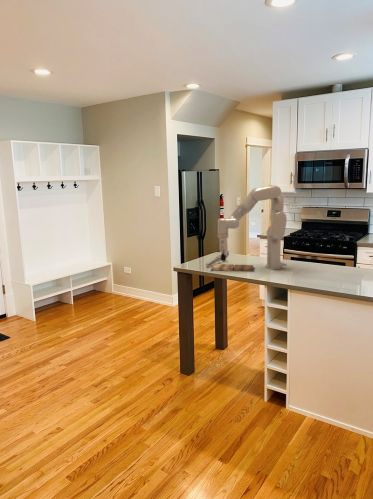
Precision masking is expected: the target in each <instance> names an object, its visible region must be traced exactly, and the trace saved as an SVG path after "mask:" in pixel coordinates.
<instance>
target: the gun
mask: <svg viewBox="0 0 373 499" xmlns="http://www.w3.org/2000/svg"><path fill="white" fill-rule="evenodd" d="M229 253H230V252H229V250H228V249H227V251H225V255H226V260H227V258H228V256H230V255H229ZM226 260H225V261H222V260H221V254H218V256H216V257H214V258H213V259H212V260H210V261H208V262H206V263H205V267H206V268H207V269H209V268H210V267H212V266H213V264H217V263H219V262H221V261H222V263H225V262H226Z"/></svg>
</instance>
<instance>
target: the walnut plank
mask: <svg viewBox="0 0 373 499" xmlns="http://www.w3.org/2000/svg"><path fill="white" fill-rule="evenodd" d="M253 267H254V264H234V271H233V272H241V271H253Z"/></svg>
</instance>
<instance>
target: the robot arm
mask: <svg viewBox="0 0 373 499" xmlns="http://www.w3.org/2000/svg"><path fill="white" fill-rule="evenodd" d="M266 200H267V201H268V200H270V201H271V206H270V207H271V208H270V214H269V220H270V221H271V223H272V224H271V225H269V226H268V227H267V230H266V241H267V242H266V244H267V246H266V252H267V254H266V264H265V265H264V268H265V269H267V270H280V269H283V267H287V264H288V263H287V262H281V250H282V248H281V247H282V246H281V243H282V241H281V240H282V239H283V238H284V236H285V234H286V226H287V214H286V213H285V212H284V206H285V204H284V203H285V201H284V195H283V194H282V189H281V187H279V186H278V185H268V186H266V187H262V188H261V187H256V188H252V189H251V190H250V191H249V193H248V194H247V195H246V197H245V198H244V199H243V200H242V202H241V203H240V204H239V205H238V207H236V209H234V211H232V213H231V214H230V216H229V217H228V218H226V217H224V218H223V217H221V218H218V219H217V238H218V239H219V245H218V246H219V252H220V255H221V260H222V261H225V262H226V260H227V259H226V255H225V252H226V251H227V250H228V238H229V229H234V230H235V229H238V228H239V227H240V225H241V224H240V220H241V219H242V218H243V217H244V216H245V215H247V214H248V213H251V211H252V210H253V209H254V208H255V207H256V204H258V203H259V201H266Z"/></svg>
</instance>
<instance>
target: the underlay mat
mask: <svg viewBox="0 0 373 499" xmlns="http://www.w3.org/2000/svg"><path fill="white" fill-rule="evenodd" d="M255 269H256V268H255V267H254V266H253V271H240V272H246V273H247V272H248V273H249V272H250V273H255ZM210 271H211V272H214V271H215V272H228V271H227V270H212V268H211V269H210ZM232 272H235V271H234V268H233V271H232Z"/></svg>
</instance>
